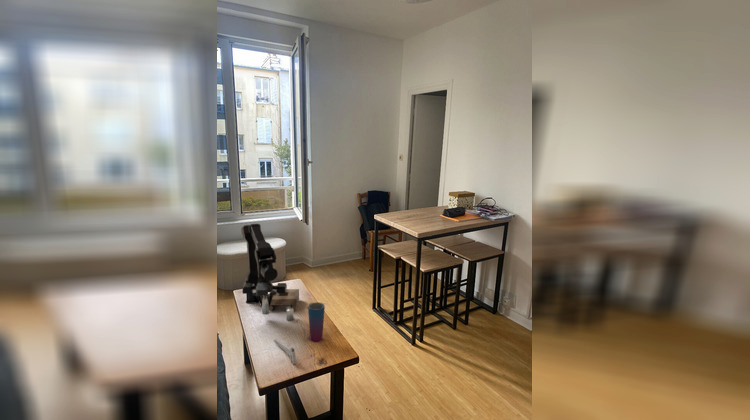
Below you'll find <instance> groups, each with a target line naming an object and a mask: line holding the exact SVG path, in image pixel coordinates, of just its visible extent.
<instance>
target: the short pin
mask: <svg viewBox="0 0 750 420" xmlns="http://www.w3.org/2000/svg"><path fill="white" fill-rule="evenodd" d="M285 312H286V321H287V322H293V321H294V317H295V316H294V315H295V314H294V313H295V311H294V309H293V308H292V307H288V308H286V311H285Z"/></svg>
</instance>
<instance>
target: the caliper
mask: <svg viewBox="0 0 750 420" xmlns="http://www.w3.org/2000/svg"><path fill="white" fill-rule="evenodd" d="M273 341H274V343H275V344H276V345H277V346H278V347H280V348H281V349H282V350H283V351H284V352H285V353H286V355H287V356H289V360H290V364H292V365H293V366H294V365H296V364H297V358H296V357H297V355H296V351H295V347H293V346H292V347H290V346H287V345H286V344H284V343H283V342H282V341H281V340H280V339H278V338H275V339H273Z"/></svg>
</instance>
